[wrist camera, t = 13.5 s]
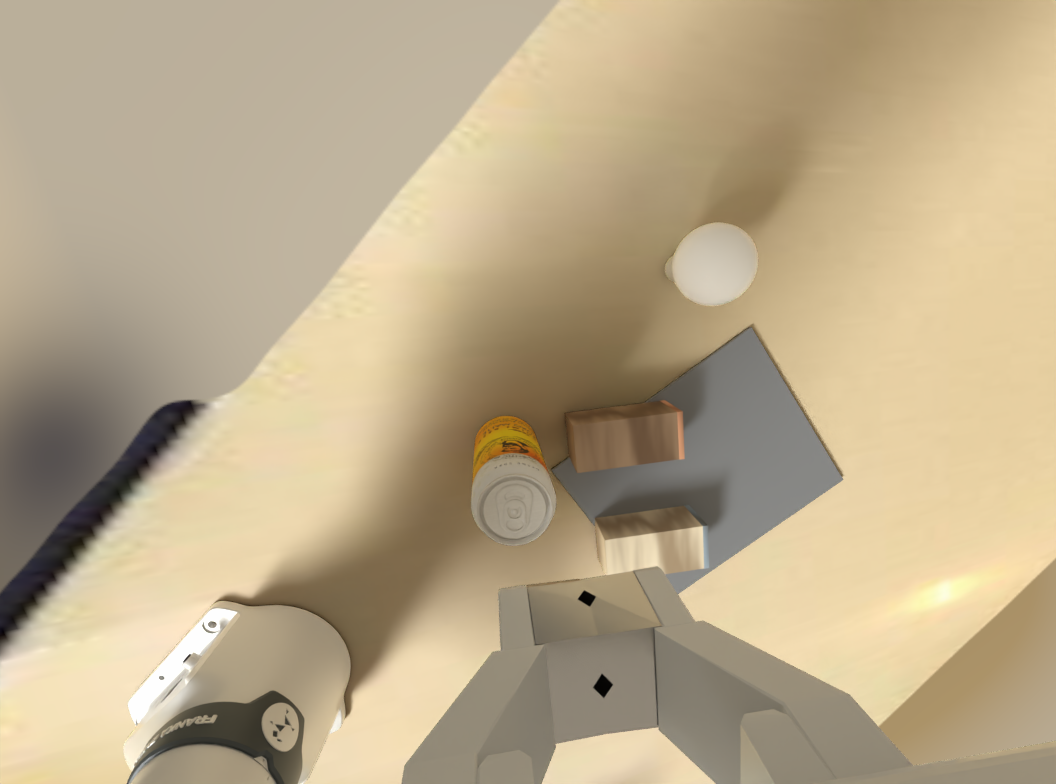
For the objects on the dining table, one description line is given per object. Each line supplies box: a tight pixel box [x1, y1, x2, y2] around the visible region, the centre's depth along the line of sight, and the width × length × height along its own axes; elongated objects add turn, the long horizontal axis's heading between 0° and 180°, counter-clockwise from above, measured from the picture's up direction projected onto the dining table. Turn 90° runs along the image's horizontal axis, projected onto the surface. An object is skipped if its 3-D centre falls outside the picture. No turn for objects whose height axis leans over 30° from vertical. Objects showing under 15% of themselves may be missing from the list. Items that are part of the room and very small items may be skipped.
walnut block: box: [565, 400, 685, 473], centre depth 46 cm, size 4×4×10 cm
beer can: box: [471, 416, 556, 546], centre depth 41 cm, size 6×6×15 cm
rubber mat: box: [551, 327, 843, 594], centre depth 51 cm, size 24×20×1 cm
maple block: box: [594, 505, 709, 575], centre depth 49 cm, size 4×4×10 cm
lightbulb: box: [665, 222, 759, 306], centre depth 41 cm, size 6×6×11 cm
